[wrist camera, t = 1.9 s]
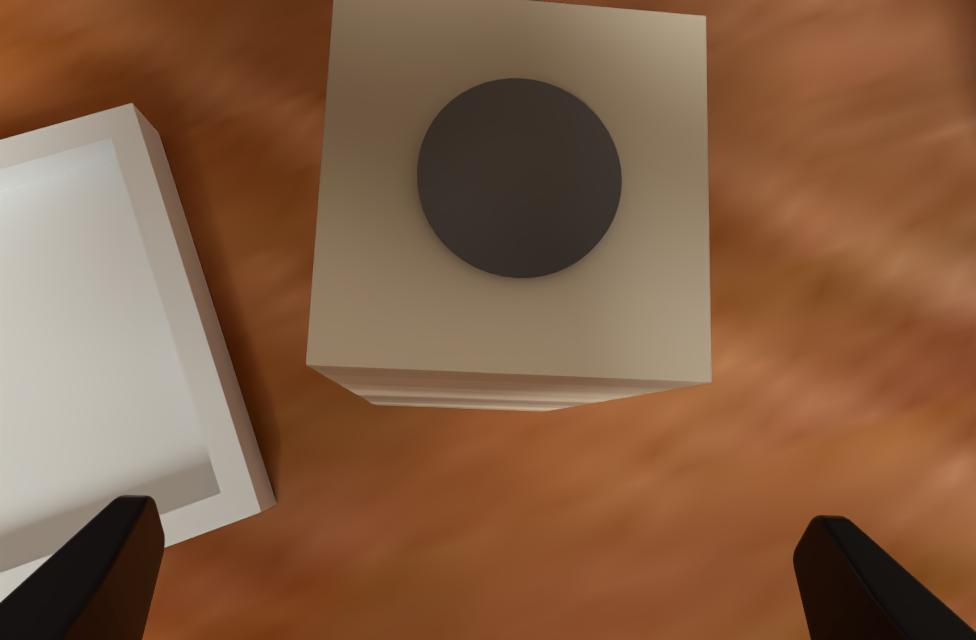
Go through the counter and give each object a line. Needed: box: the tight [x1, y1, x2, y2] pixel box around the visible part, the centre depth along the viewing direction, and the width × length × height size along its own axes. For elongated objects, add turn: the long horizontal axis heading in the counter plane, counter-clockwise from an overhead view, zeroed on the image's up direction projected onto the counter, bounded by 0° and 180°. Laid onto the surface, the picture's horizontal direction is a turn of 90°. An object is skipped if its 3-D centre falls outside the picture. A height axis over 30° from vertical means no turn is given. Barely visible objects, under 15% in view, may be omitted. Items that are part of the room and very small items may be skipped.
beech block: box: [306, 0, 711, 412], centre depth 15 cm, size 5×5×13 cm
